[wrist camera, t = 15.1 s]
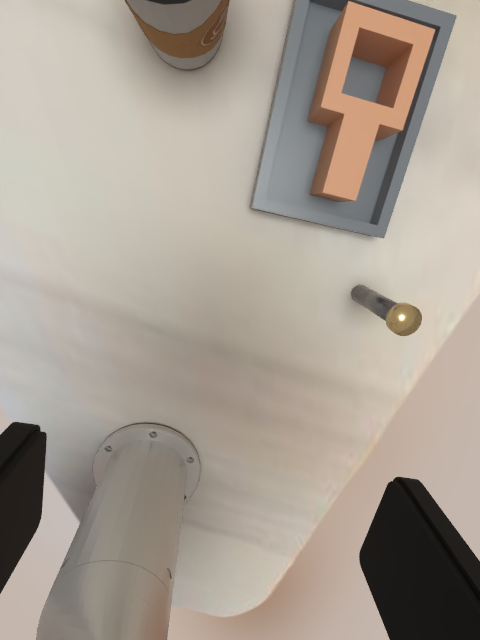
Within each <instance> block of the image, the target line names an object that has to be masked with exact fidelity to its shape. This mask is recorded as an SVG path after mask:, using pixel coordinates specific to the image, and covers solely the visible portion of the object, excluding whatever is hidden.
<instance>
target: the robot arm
mask: <svg viewBox="0 0 480 640" xmlns="http://www.w3.org/2000/svg"><path fill="white" fill-rule="evenodd" d="M46 438H47V436H46V433H45V432H40V426H39V425H34V424H27V423H20V422H13V423H12V424H11V425H10V426H9V427H8V428H7V429H6V430H5V431H4V432H3V433H2V434H1V435H0V593H1V592H2V590H3V588H4V586H5V585H6V583H7V581H8V579H9V578H10V576H11V574H12V572H13V571H14V569H15V567H16V565H17V563H18V562H19V560H20V558H21V557H22V555H23V553H24V551H25V549H26V548H27V546H28V544H29V542H30V541H31V539H32V537H33V535H34V534H35V532H36V530H37V528H38V525H39V523H40V519H41V514H42V501H43V500H42V499H43V485H44V470H45V454H46ZM93 477H94V481H95V483H96V486H97V487H96V489H95V492H94V494H93V496H92V498H91V501H90V503H89V505H88V507H87V510H86V512H85V514H84V516H83V519H82V521H81V523H80V525H79V528H78V530H77V532H76V534H75V537H74V539H73V541H72V543H71V546H70V548H69V550H68V553H67V555H66V557H65V559H64V562H63V564H62V566H61V568H60V571H59V573H58V575H57V577H56V580H55V582H54V584H53V586H52V589H51V591H50V593H49V596H48V598H47V600H46V603H45V605H44V608H43V610H42V613H41V616H40V620H39V624H38V629H37V637H36V640H167V633H168V626H169V618H170V609H171V601H172V593H173V585H174V577H175V568H176V560H177V552H178V544H179V536H180V527H181V519H182V511H183V503H184V502H186V501H187V500H188V499H189V498H190V497H191V496H192V494H193V493H194V491H195V489H196V488H197V485H198V482H199V477H200V461H199V457H198V454H197V452H196V450H195V448H194V447H193V445H192V444H191V443H190V442H189V440H187V439H186V438H185V437H184V436H183V435H182V434H180V433H178V432H176V431H175V430H173V429H170V428H168V427H165V426H161V425H156V424H136V425H131V426H128V427H124V428H122V429H120V430H118V431H116V432H114V433H113V434H112V435H110V436H109V437H108V438H107V439H106V440H105V441H104V442H103V443H102V445H101V446H100V448H99V450H98V452H97V454H96V456H95V459H94V462H93ZM359 557H360V565H361V568H362V571H363V573H364V576H365V578H366V581H367V583H368V586H369V588H370V591H371V593H372V595H373V598H374V601H375V603H376V606H377V608H378V611H379V613H380V616H381V618H382V621H383V623H384V626H385V628H386V631H387V633H388V636H389V639H390V640H480V561H479V560H478V558H477V557H476V556H475V554H474V553H473V552H472V550H471V549H470V548H469V546H468V545H467V544H466V542H465V541H464V540H463V538H462V537H461V536H460V534H459V533H458V531H457V530H456V529H455V528H454V526H453V525H452V523H451V522H450V521H449V519H448V518H447V517H446V515H445V514H444V513H443V511H442V510H441V508H440V507H439V506H438V504H437V503H436V502H435V500H434V499H433V498H432V496H431V495H430V494H429V492H428V491H427V490H426V488H425V487H424V486H423V484H422V483H421V482H420V481H419V480H417V479H410V478H403V477H396V478H395V479H394V480H393V481H391V482H389V483H388V485H387V487H386V490H385V492H384V495H383V497H382V500H381V502H380V504H379V507H378V509H377V511H376V514H375V516H374V519H373V521H372V523H371V526H370V528H369V531H368V533H367V536H366V538H365V540H364V543H363V545H362V548H361V550H360V556H359Z"/></svg>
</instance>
